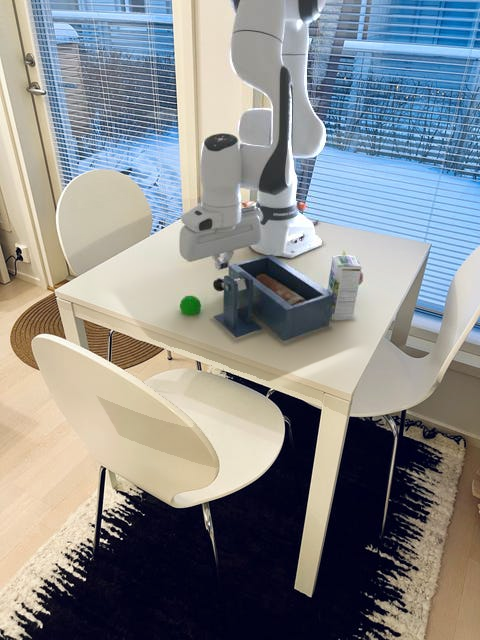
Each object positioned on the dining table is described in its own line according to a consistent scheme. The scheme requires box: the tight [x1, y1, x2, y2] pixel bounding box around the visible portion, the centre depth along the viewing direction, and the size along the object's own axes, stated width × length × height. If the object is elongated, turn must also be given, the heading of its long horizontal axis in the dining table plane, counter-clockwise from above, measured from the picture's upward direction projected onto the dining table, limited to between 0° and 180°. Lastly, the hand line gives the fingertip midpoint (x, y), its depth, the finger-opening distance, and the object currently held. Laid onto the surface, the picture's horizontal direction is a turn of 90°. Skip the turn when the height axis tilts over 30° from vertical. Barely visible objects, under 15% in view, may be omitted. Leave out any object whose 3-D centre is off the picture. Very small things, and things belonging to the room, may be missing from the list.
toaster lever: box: [212, 277, 247, 292], centre depth 115 cm, size 12×3×3 cm, turn 33°
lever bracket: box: [213, 271, 263, 338], centre depth 114 cm, size 10×7×13 cm
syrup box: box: [326, 254, 363, 321], centre depth 119 cm, size 6×6×14 cm
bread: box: [255, 274, 307, 306], centre depth 120 cm, size 6×19×6 cm, turn 26°
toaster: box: [228, 254, 334, 342], centre depth 120 cm, size 13×24×9 cm, turn 32°
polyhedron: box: [179, 295, 202, 316], centre depth 120 cm, size 5×5×5 cm
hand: (222, 267), depth 119 cm, fingers closed
